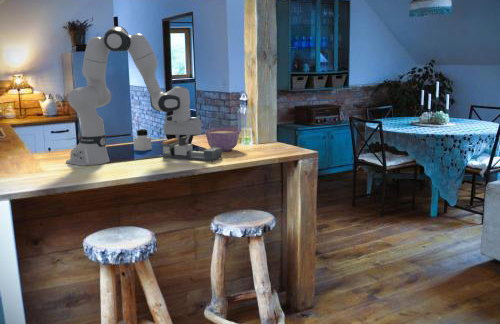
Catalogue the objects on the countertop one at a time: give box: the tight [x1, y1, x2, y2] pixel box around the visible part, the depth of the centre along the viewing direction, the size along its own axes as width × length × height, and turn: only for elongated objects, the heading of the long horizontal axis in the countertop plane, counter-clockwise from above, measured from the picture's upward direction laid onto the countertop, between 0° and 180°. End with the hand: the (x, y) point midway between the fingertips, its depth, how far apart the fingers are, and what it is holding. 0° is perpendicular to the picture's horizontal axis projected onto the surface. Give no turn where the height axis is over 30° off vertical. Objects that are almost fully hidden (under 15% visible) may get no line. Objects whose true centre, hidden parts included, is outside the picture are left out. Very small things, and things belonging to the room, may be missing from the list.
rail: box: [161, 141, 222, 163], centre depth 262 cm, size 30×10×8 cm, turn 67°
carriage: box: [174, 137, 194, 156], centre depth 264 cm, size 7×7×9 cm
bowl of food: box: [204, 127, 241, 153], centre depth 282 cm, size 20×20×12 cm
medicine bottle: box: [133, 128, 153, 152], centre depth 288 cm, size 7×7×12 cm
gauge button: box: [162, 138, 178, 144], centre depth 267 cm, size 3×11×1 cm, turn 157°
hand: (183, 143), depth 264 cm, fingers closed on carriage, 2 cm apart
